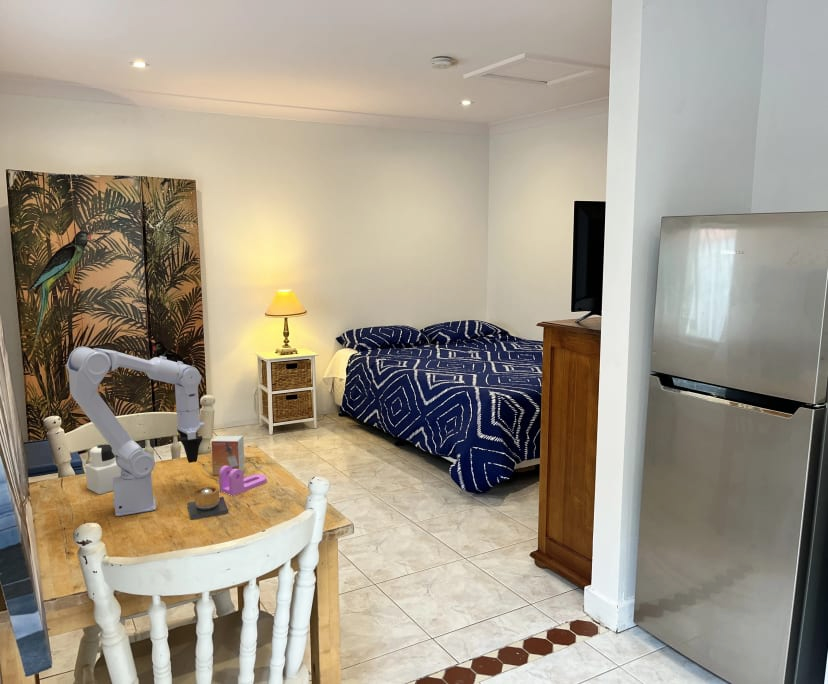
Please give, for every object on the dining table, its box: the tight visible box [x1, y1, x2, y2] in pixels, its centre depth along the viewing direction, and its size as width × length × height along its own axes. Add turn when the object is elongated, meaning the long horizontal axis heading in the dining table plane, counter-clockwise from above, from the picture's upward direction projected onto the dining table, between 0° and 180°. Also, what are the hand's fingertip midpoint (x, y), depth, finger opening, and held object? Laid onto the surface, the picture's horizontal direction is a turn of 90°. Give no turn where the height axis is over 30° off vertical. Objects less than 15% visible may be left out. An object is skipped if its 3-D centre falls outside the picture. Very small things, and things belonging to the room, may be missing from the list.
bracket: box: [218, 465, 267, 497], centre depth 186 cm, size 13×6×7 cm, turn 143°
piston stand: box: [186, 489, 229, 521], centre depth 171 cm, size 9×9×6 cm
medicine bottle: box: [84, 444, 121, 495], centre depth 185 cm, size 7×7×12 cm
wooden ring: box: [194, 485, 220, 506], centre depth 171 cm, size 6×6×3 cm
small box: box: [211, 435, 246, 476], centre depth 197 cm, size 8×6×10 cm
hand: (191, 457), depth 183 cm, fingers open, 7 cm apart
